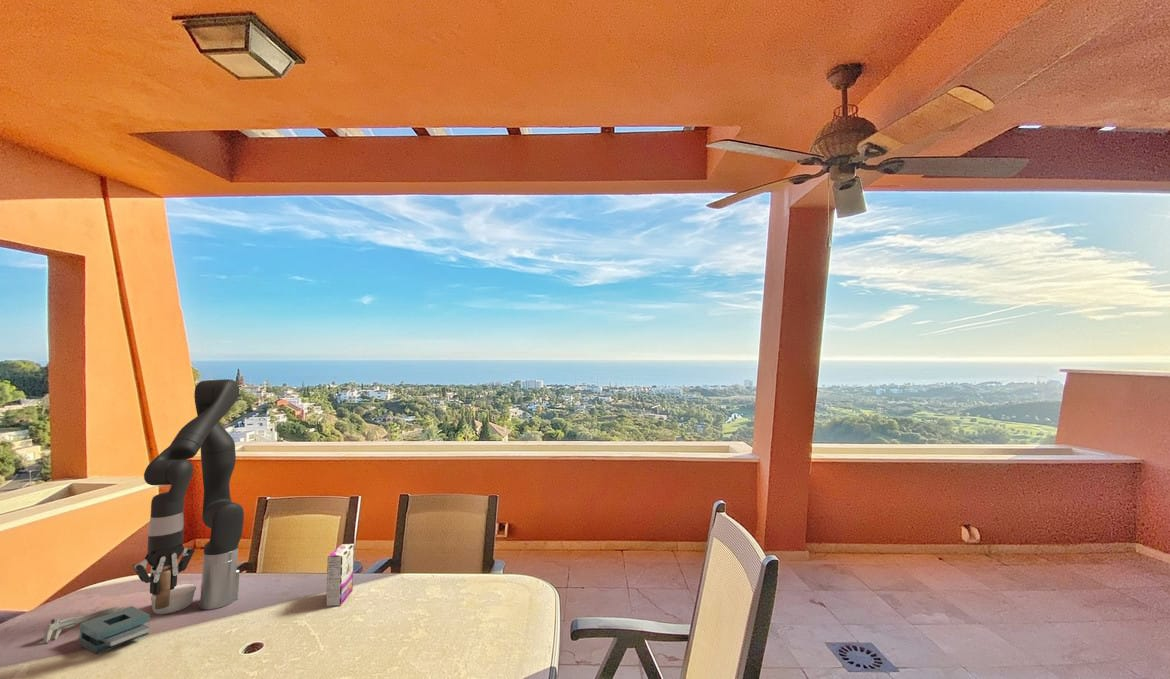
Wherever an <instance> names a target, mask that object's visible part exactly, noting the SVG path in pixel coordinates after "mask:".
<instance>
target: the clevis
mask: <svg viewBox="0 0 1170 679" xmlns="http://www.w3.org/2000/svg"><path fill="white" fill-rule="evenodd" d="M150 616H151V615H150V613H147V612H146V611H143V610H141V609H140V608H139V609H138V608H137V607H135V606H132V605H130V606H128V607H125V608H121V609H118V610H117V611H115V612H112V613H109V614H106V615H102V616H99V617H96V618H92V619H89V620H86V621H82V622H80V624H79V625H80V626H79V636H78V644H79V645H80V646H82V647H84V648H85V649H86V650H88V651H90V652H91V653H93V654H95V655H97V654H100V653H103V652H105V651H108V650H110V649H114V648H115V647H118V646H119V647H120V645H123V644H126V643H129V642H131V641H133V640H136V639H139V638H141V637H144V636H146V635H149V632H150V627H149V626H148V625H146V624H147V623H150V618H151V617H150Z"/></svg>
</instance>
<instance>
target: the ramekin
mask: <svg viewBox="0 0 1170 679" xmlns="http://www.w3.org/2000/svg"><path fill="white" fill-rule="evenodd" d="M196 590H197V586H196V585H195V584H192V583H191V584H190V583H189V584H188V583H187V584H186V583H185V584H178V585H176V586H175V587H174V589H173V590H170V605H169V606H168V607H166V608H163V609H155V602H156V596H154V595H152V594H151V596H150V601H151V607H152V611H153V613H154V614H156V615H167V614H171V613H175V612H176V611H177V612H180V611H181V610H184V609H186V608H188V607H189V606H190V605H191V604H192V602H193V600H194V596H195V593H196ZM187 606H188V607H187Z"/></svg>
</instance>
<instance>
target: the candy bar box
mask: <svg viewBox="0 0 1170 679" xmlns="http://www.w3.org/2000/svg"><path fill="white" fill-rule="evenodd" d="M354 547H355V544H354V543H343V544H339V546H337V547H336V549H334V550H333V551H332V552H331V553H330V554H329V555H328V556H327V566H326V567H327V568H326V569H327V570H326V571H327V572H326V575H327V576H326V596H325V597H326V601H325V603H326V604H325V607H327V608H328V607H339V606H342V604H343V603H344V602H345V601H346V599H347V598H348V597H349V595H351V593H352V591H353V590H354V589H353V586H354V585H353V584H354V583H353V582H354V580H353V579H354V557H355V556H354V553H355V552H354V551H355V548H354Z"/></svg>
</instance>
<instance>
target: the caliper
mask: <svg viewBox="0 0 1170 679" xmlns="http://www.w3.org/2000/svg"><path fill="white" fill-rule="evenodd" d="M120 608H121V609H123V607H122V606H119V605H115V606H111V607H108V608H105V609H100V610H97V611H94V612H91V613H88V614H83V615H80V616H71V617H68V618H64V619H61V620H60V617H56V618H53V619H51V620H50V623H49V624H47V625H46V628H45V630H44V634H43V643H44V644H49V643H50V641H56V640H57V639H58V637H59V636H60V634H61V632H62V631H63V629H71V628H74V627H75V626H76V624H78V623H83V622H86V621H89V620H92V619H95V618H98V617H101V616H104V615H107V614H110V613H113V612H114V611H115V612H116V610H117V611H119V610H121V609H120ZM55 639H56V640H55Z"/></svg>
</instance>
